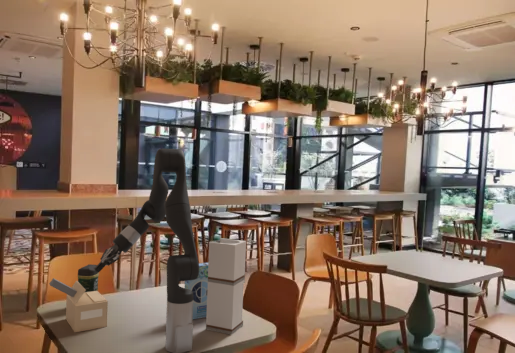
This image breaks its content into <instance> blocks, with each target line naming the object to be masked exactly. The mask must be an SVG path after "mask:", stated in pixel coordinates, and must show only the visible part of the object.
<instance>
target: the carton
mask: <svg viewBox="0 0 515 353" xmlns="http://www.w3.org/2000/svg"><path fill="white" fill-rule="evenodd" d="M108 302H109V301H108V300H107V299H106V298H105V297H104V296H103V295H102V294H101V293H100V292H99V290H98V291H91V292H84V294H83V295H82V296H81V298H80V299H79V301H78V302H77V304H74V303H73V301H72V300H71V299H70V298H69V296H68V295H67V294H66V306H65V307H66V308H65V320H66V321H67V323H68V324H69V326H70V328H71V330H72V331H73V333H78V332H80V333H81V332H84V331H89V330H95V329H100V328H106V327H107V326H108V304H109V303H108Z"/></svg>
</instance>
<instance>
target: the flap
mask: <svg viewBox="0 0 515 353" xmlns="http://www.w3.org/2000/svg"><path fill="white" fill-rule="evenodd" d="M49 286H50V287H51V288H54V289H56V290H58V291H60V292H62V293H64V294H66V296H67V295H68V296H69V298H70V299H71V300H72V301H73V303H74V304H77V302H78V301H79V299H80V298H81V296H82V295H83V294H84V292H85V291H86V290H85V289H84V288H83V286H82V285H81V284H80V283H79V282H78V280H75V282H74V283H73V285H72V287H71V286H69V285H67V284H66V283H64V282H62V281H61V280H58V279H56V278H52V279H51V281H50V282H49Z"/></svg>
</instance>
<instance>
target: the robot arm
mask: <svg viewBox="0 0 515 353" xmlns="http://www.w3.org/2000/svg"><path fill="white" fill-rule="evenodd" d="M185 156H186V155H185V152H184V151H183V150H182V149H177V148H159V149H158V150H157V151H156V153H155V157H154V162H153V164H154V165H153V174H152V184H151V189H150V194H149V198H148V200H146V201H144V203H143V204H142V206H141V208H140V210H139V212H138V214H137V215H136V217H135V218H134V219H133V220H132V221H131V222H130V223H129V224H128V225H127V226H126V227H125V228H124V229H123V230H121V232H119V233H118V235H117V236H116V237H115V238H114V239H112V243H113V245H112V246H111V247H109V248H106V249H105V250H104V251H103V254H102V256H101V257H100V261H99V263H98V264H96V265H97V266H96V267H95V268H94V270H96V271H97V272H99V273H101V271H102V270H103V269H104V268H105V267H107V266H108V267H109V266H110V265H112V264H113V263H115V262H116V261H118V260H120V257H119V256H120V255H121V254H122V252H123V253H125V254H126V253H128V251H129V250H130V249H131V248H132V247H133V246H134V245H135V244H136V243H137V242H138V241H139V239H140V238H141V237H142V235H144V233H145V232H147V230H149V228H150V225H149V223H148V222H147V221H146V219H145V218H146V216H147V217H148V218H149V219H151V220H152V221H153V222H155V223H159V222H162V221H163V220H164V219H165V220H166V223H167V225H168V226H169V228H170V230H171V231H172V232H173V233H174V235H175V236H176V237H177V238H178V240H179V241H180V243H181V245H182V247H183V251H184V253H183V254H173V255H170V256H169V257H168V259H167V261H166V316H165V317H166V318H165V347H164V348H165V351H167V352H168V353H186V352H191V351H193V331H194V329H193V328H194V325H193V320H194V319H193V292H192V291H191V290H189V289H186V288H185V287H181V286H180V283H179V282H185V281H188V280H195V279H197V277H198V275H199V263H200V262H199V257H198V253H197V248H196V243H195V238H194V232H193V231H194V230H193V223H192V214H191V206H190V204H191V203H190V199H189V193H188V184H187V169H186V167H187V165H186V157H185ZM163 173H174V174H175V175H176V176H175V178H176V179H175V183H174V185H173V187H172V188H171V191H170V192H169V186H168V183H167V182H166V180H165V178H164V176H163Z"/></svg>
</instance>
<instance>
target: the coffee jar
mask: <svg viewBox="0 0 515 353" xmlns="http://www.w3.org/2000/svg"><path fill="white" fill-rule="evenodd" d="M97 265H98V264H90V263H89V264H87V265H84V266H82V267H81V268H80V267H79V269H77V281H78V282H79V283H80V284H81V285H82V286H83V288H84V289H85V290H86V291H85V292H91V291H98V292H99V276H100V272H97V271H96V270H94V268H95V267H96V266H97Z"/></svg>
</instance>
